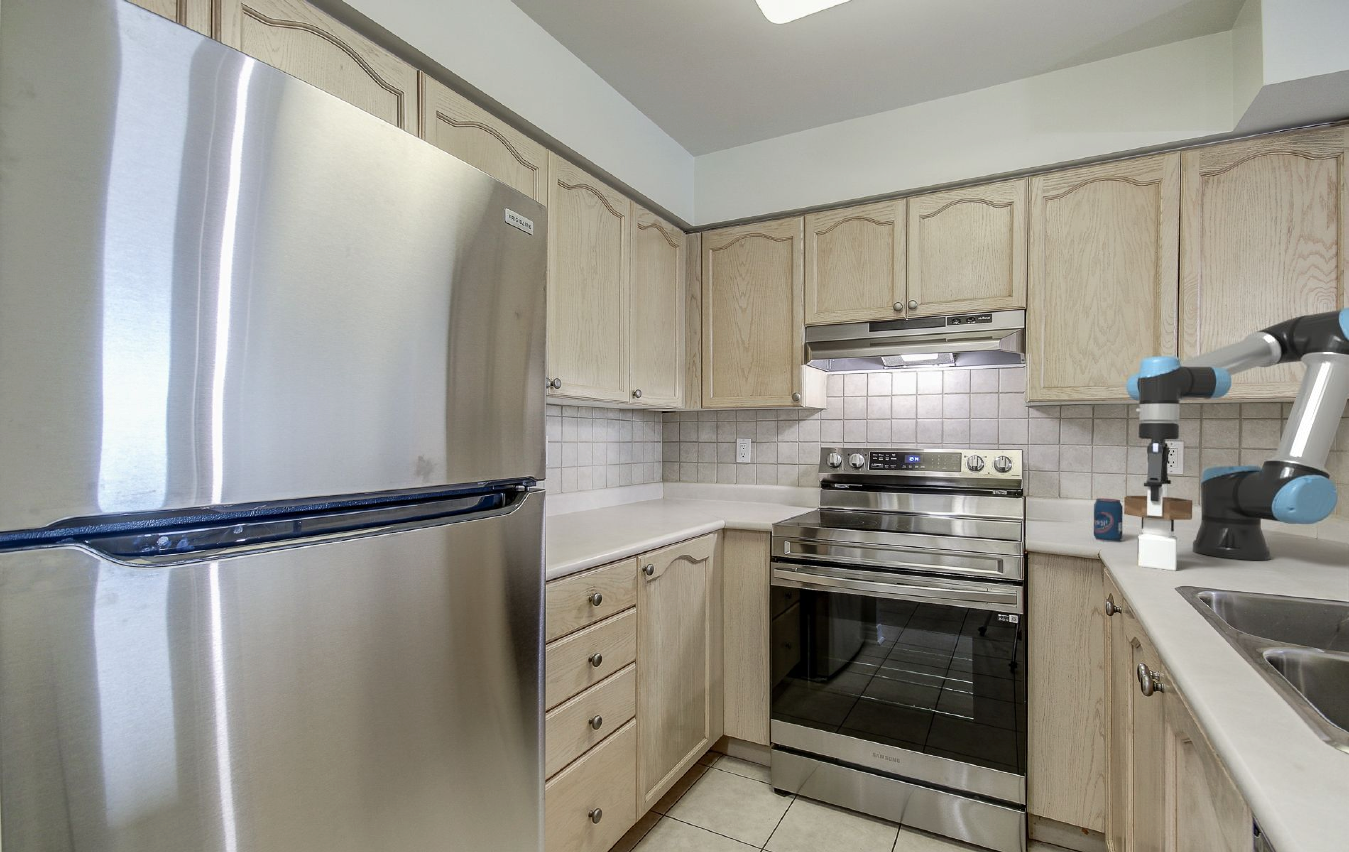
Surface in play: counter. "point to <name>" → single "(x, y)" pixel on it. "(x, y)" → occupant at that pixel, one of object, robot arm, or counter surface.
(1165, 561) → the medicine bottle
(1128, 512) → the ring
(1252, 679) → the counter surface
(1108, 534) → the soda can
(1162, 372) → the robot arm
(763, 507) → the counter surface
